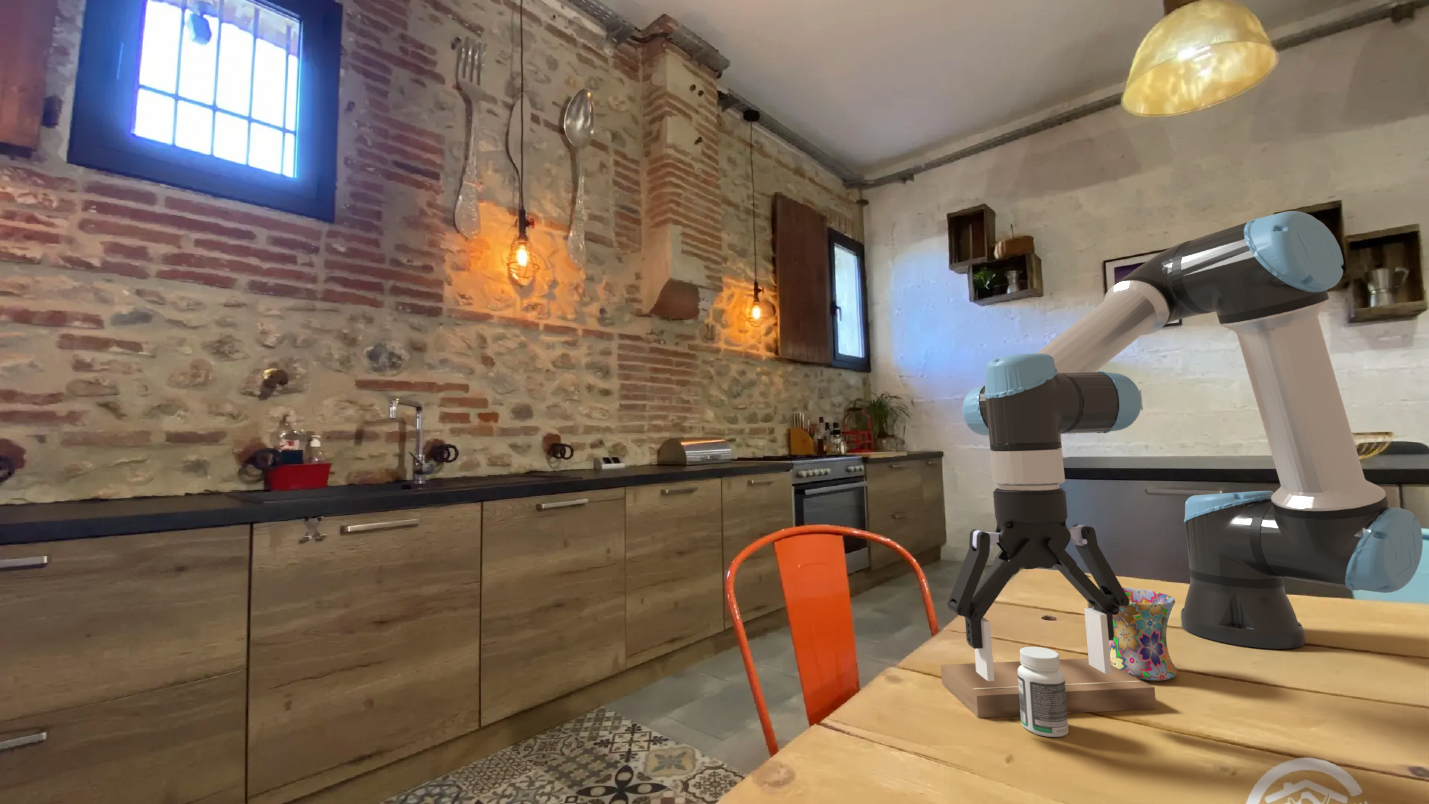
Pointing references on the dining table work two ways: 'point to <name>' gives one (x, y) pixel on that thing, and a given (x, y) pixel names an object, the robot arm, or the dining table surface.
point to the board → (1081, 686)
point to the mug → (1142, 635)
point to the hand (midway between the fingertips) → (1042, 673)
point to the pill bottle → (1042, 692)
